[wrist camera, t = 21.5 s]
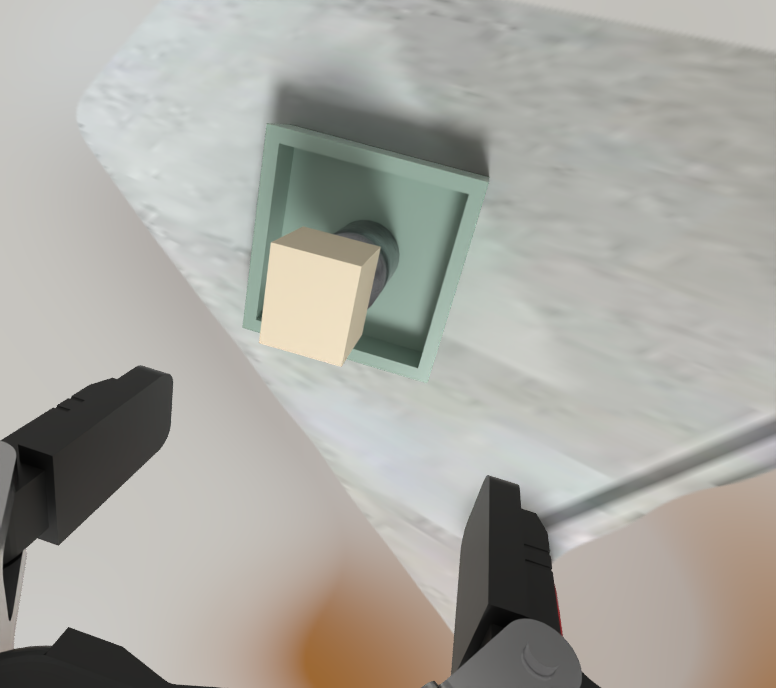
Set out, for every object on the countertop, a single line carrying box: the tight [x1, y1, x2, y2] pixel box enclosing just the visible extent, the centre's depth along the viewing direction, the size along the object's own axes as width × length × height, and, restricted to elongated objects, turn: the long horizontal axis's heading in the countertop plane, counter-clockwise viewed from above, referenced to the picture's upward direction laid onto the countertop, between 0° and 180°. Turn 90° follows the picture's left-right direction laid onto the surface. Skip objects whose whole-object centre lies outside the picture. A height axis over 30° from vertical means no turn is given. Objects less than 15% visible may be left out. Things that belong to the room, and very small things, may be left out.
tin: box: [333, 220, 399, 310], centre depth 35 cm, size 5×5×7 cm
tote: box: [243, 123, 489, 383], centre depth 37 cm, size 15×15×4 cm
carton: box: [259, 226, 381, 367], centre depth 30 cm, size 5×6×5 cm
